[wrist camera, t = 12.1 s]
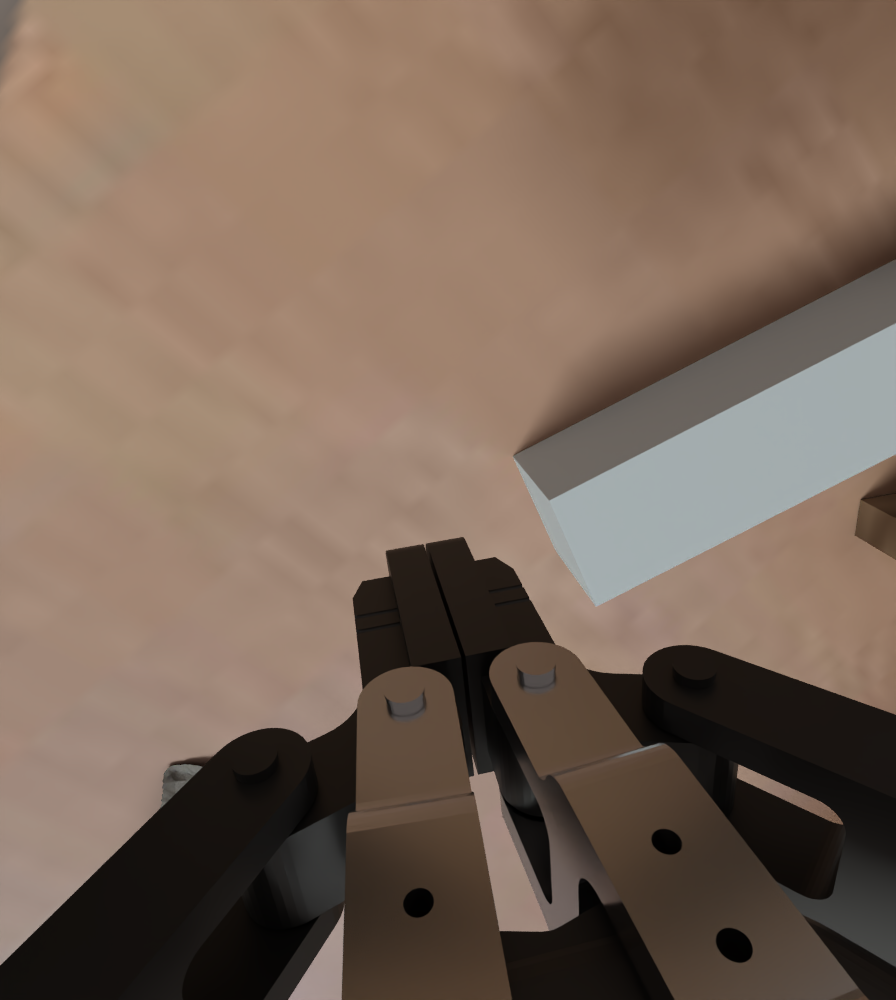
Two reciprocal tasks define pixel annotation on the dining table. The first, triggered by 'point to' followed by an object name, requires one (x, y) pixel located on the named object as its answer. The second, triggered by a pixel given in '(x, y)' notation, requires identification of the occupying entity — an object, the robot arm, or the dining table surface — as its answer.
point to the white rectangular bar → (722, 441)
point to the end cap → (878, 523)
